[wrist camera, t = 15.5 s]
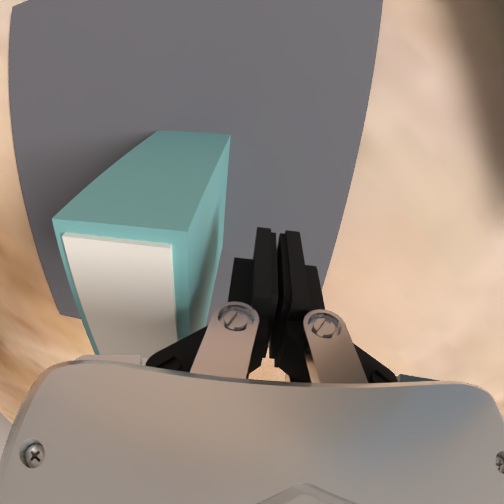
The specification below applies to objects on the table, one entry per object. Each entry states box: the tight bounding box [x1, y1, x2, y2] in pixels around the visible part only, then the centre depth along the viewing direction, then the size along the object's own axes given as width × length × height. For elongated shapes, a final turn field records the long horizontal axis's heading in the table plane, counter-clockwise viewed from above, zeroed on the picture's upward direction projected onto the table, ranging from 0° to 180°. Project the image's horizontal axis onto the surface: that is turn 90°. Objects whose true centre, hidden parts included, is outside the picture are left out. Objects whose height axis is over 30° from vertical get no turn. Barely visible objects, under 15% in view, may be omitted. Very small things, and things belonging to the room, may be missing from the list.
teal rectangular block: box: [52, 131, 231, 358], centre depth 13 cm, size 4×7×10 cm, turn 174°
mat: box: [9, 0, 383, 347], centre depth 18 cm, size 22×26×1 cm
